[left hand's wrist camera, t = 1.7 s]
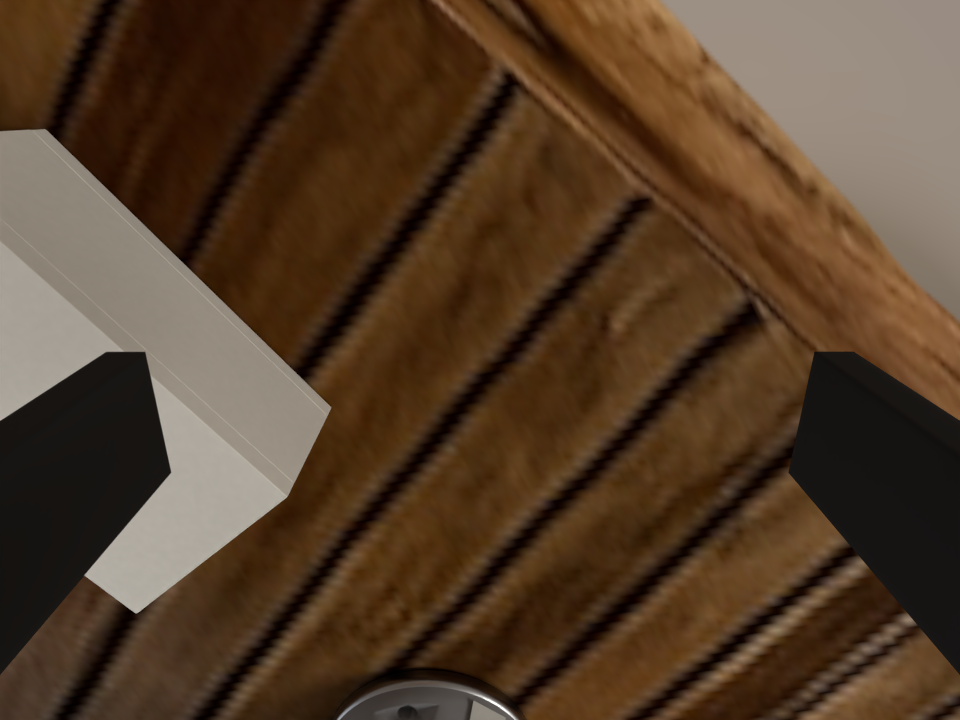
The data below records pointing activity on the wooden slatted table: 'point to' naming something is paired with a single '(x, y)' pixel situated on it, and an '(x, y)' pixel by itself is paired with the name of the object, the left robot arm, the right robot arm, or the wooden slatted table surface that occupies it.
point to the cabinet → (170, 355)
